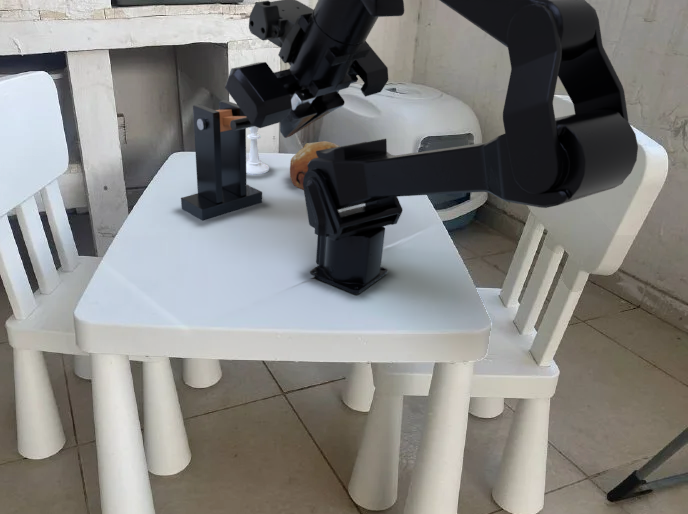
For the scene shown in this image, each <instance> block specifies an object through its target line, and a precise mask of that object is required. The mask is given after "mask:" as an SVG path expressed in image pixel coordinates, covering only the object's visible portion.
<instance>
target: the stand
mask: <svg viewBox="0 0 688 514" xmlns="http://www.w3.org/2000/svg"><path fill="white" fill-rule="evenodd" d="M192 110H193V111H192V112H193V113H192V114H193V115H192V116H193V131H194V133H193V135H194V149H195V151H194V152H195V167H196V168H195V169H196V185H197V193H193V194H189V195H186V196H182V197H181V198H180V203H181V205H180V206H181V210H183V211H184V212H186V213H188V214H190V215H192V216H193V217H195V218H197V219H198V220H200V221H202V222H203V221H207V220H210V219H214V218H217V217H220V216H223V215H227V214H230V213H233V212H236V211H240V210H243V209H246V208H249V207H252V206H256V205H258V204H262V203H263V191H261V190H260V189H257V188H255V187H253V186H252V185H249V184H247V174H246V163H247V128H245V129H240V130H235V131H233V130H228V131H223V132H220V112H218V111H216V110H217V109H214V108H209V107H208V106H205V105H202V104H195V105H192ZM218 110H232V116H245V114H244V113H243V112H242V110H241V109H240V108H239V106H238V105H237V103H236V102H232V101H229V100H226V99H223V100H219V101H218Z"/></svg>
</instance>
